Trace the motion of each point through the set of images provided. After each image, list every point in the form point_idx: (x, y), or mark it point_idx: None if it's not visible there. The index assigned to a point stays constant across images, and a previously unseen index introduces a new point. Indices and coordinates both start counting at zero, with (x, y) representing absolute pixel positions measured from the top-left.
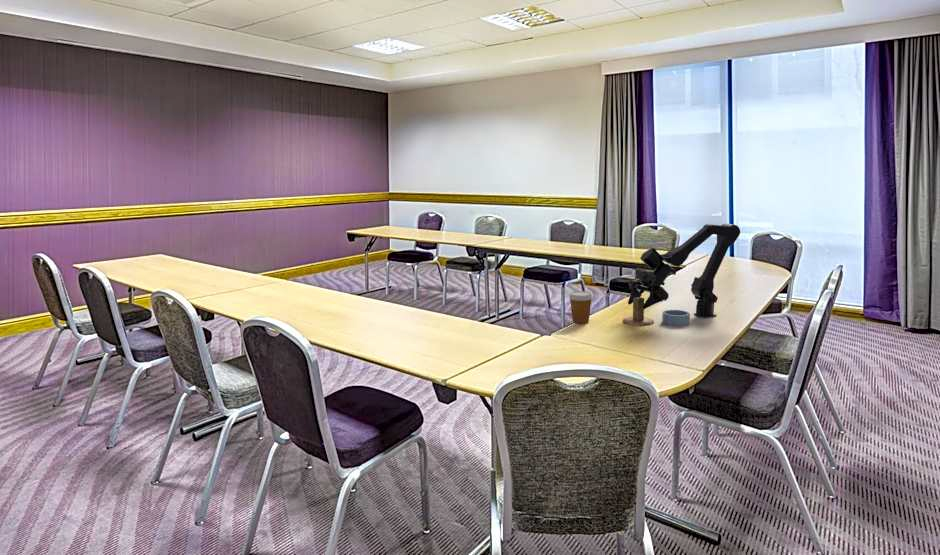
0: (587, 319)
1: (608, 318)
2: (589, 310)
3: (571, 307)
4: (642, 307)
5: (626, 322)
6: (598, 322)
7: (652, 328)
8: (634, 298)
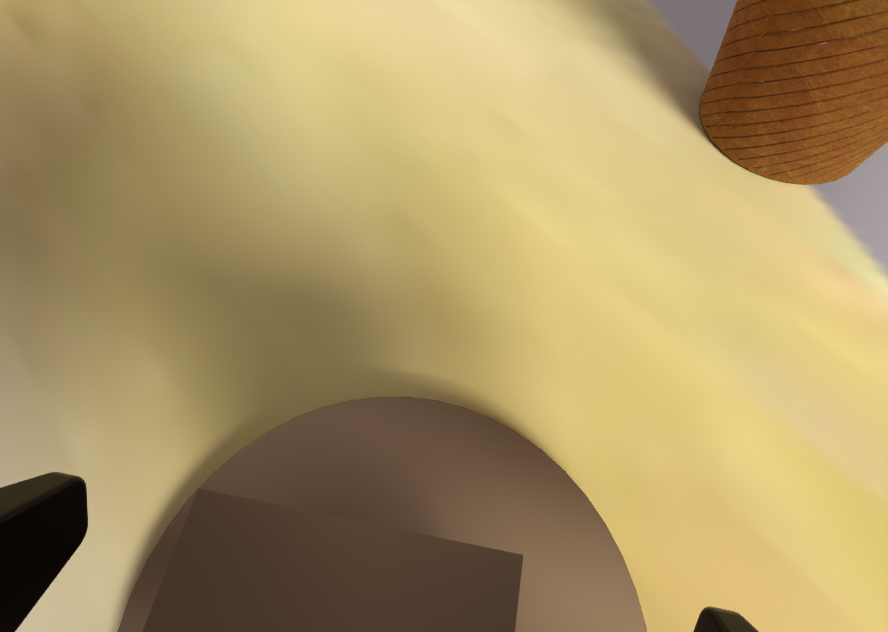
0: (721, 98)
1: (807, 451)
2: (781, 19)
3: None
4: (73, 477)
5: (426, 400)
6: (683, 227)
7: None
8: (439, 543)
